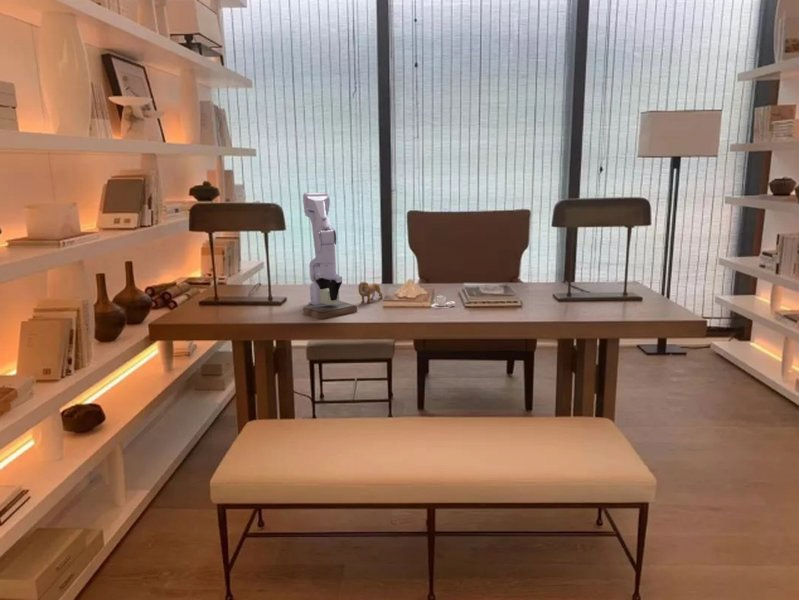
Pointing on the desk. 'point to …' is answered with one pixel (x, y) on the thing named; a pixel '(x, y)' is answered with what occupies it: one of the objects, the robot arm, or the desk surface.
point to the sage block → (327, 297)
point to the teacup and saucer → (442, 302)
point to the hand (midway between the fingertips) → (329, 298)
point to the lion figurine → (368, 291)
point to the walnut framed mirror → (329, 310)
